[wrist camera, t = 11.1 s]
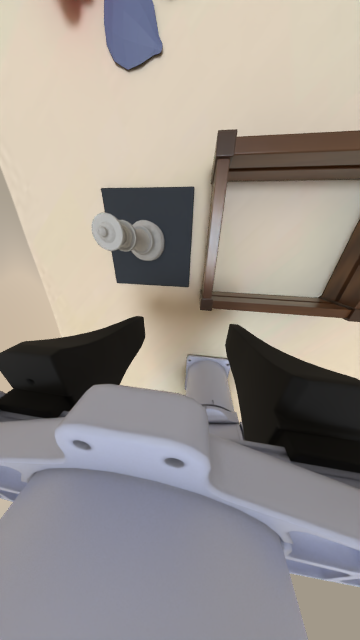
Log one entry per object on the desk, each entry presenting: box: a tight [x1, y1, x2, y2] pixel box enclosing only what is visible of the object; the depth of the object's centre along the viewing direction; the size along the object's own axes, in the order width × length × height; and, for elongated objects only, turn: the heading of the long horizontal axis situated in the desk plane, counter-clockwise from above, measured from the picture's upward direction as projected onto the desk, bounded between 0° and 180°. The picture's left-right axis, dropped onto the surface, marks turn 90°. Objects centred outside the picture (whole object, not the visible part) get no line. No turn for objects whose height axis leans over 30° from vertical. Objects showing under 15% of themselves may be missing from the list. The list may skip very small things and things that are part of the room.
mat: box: [101, 187, 194, 287], centre depth 18 cm, size 11×11×1 cm
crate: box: [200, 129, 360, 322], centre depth 15 cm, size 14×17×5 cm
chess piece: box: [92, 213, 165, 261], centre depth 13 cm, size 4×4×10 cm
